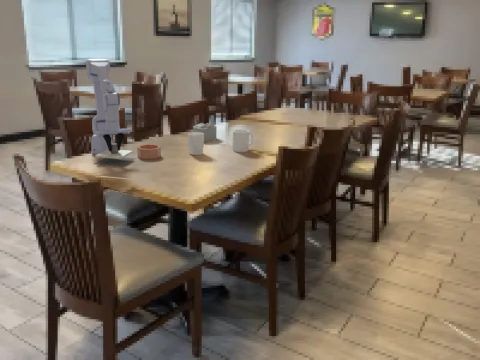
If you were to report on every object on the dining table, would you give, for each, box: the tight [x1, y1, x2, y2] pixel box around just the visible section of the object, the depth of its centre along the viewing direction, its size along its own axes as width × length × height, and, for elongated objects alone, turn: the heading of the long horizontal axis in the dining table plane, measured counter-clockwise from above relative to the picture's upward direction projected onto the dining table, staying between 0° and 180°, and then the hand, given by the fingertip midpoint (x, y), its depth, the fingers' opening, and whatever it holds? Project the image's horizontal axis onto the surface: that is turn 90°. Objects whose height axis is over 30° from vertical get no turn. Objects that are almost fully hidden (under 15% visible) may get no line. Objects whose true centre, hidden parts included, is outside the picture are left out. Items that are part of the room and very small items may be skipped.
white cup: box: [187, 131, 205, 156], centre depth 221 cm, size 8×8×10 cm
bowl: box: [136, 143, 162, 160], centre depth 213 cm, size 10×10×5 cm
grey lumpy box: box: [192, 122, 217, 143], centre depth 253 cm, size 10×13×9 cm
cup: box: [231, 128, 254, 153], centre depth 230 cm, size 8×12×10 cm
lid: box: [95, 142, 134, 159], centre depth 202 cm, size 12×12×5 cm
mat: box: [93, 157, 136, 168], centre depth 204 cm, size 14×14×1 cm
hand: (114, 150), depth 202 cm, fingers closed on lid, 3 cm apart
